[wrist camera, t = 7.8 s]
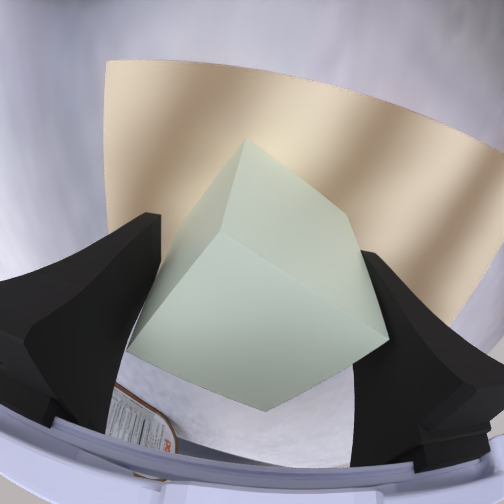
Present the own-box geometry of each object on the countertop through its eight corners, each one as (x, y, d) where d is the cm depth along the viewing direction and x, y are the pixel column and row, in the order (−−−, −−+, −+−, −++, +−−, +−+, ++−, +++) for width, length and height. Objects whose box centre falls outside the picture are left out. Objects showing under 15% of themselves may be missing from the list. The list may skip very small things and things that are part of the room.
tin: (56, 349, 23) (20, 427, 16) (71, 342, 22) (32, 427, 15) (169, 427, 30) (155, 495, 23) (189, 424, 29) (176, 497, 22)
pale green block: (346, 214, 13) (389, 339, 7) (269, 287, 15) (265, 411, 10) (246, 137, 11) (220, 230, 6) (177, 230, 14) (125, 351, 8)
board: (524, 165, 11) (534, 173, 10) (434, 328, 18) (439, 339, 17) (117, 59, 10) (106, 61, 9) (122, 281, 17) (116, 292, 16)
